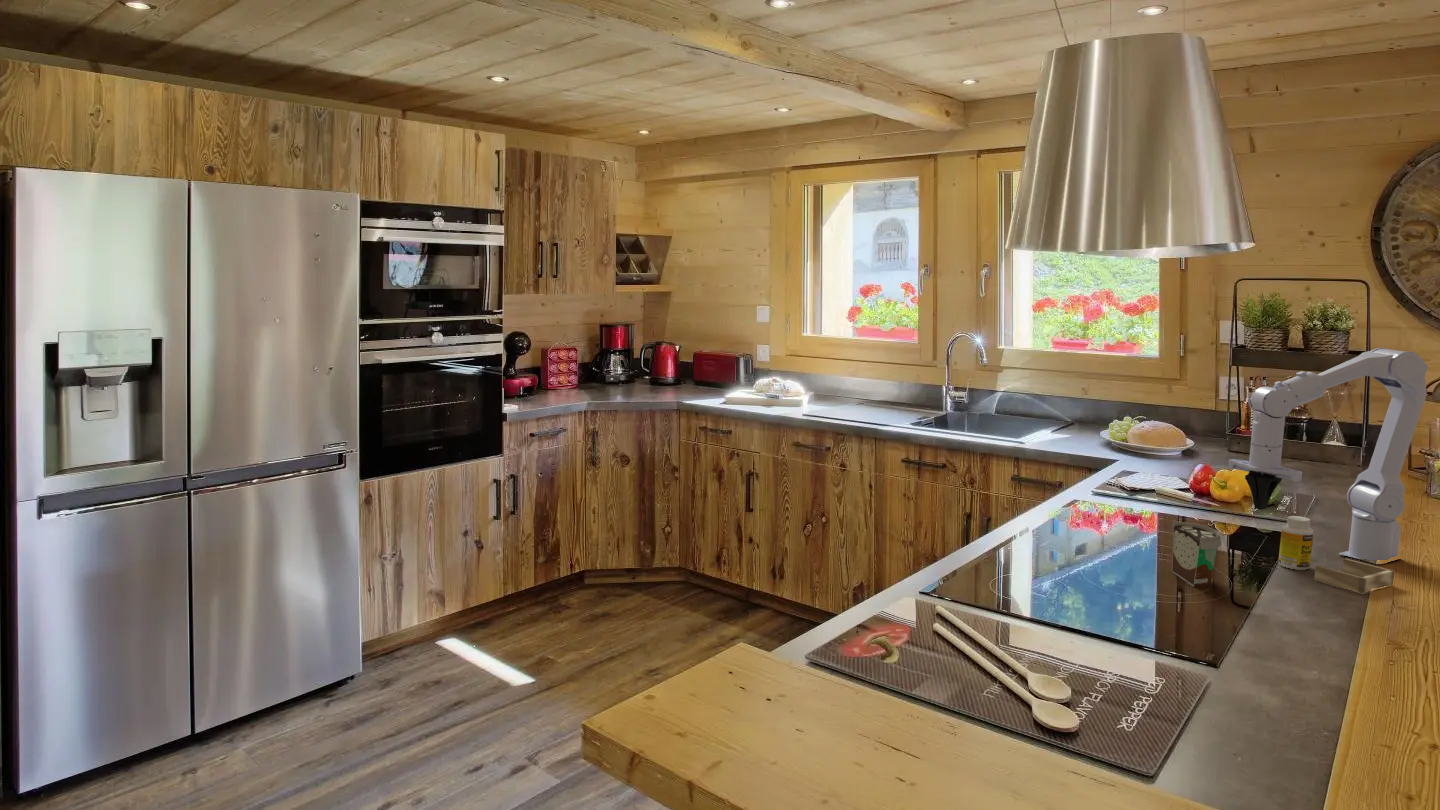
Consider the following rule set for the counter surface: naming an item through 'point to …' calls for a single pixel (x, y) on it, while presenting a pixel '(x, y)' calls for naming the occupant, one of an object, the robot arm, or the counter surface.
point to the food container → (1194, 552)
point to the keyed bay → (1355, 576)
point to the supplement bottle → (1296, 543)
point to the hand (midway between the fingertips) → (1260, 508)
